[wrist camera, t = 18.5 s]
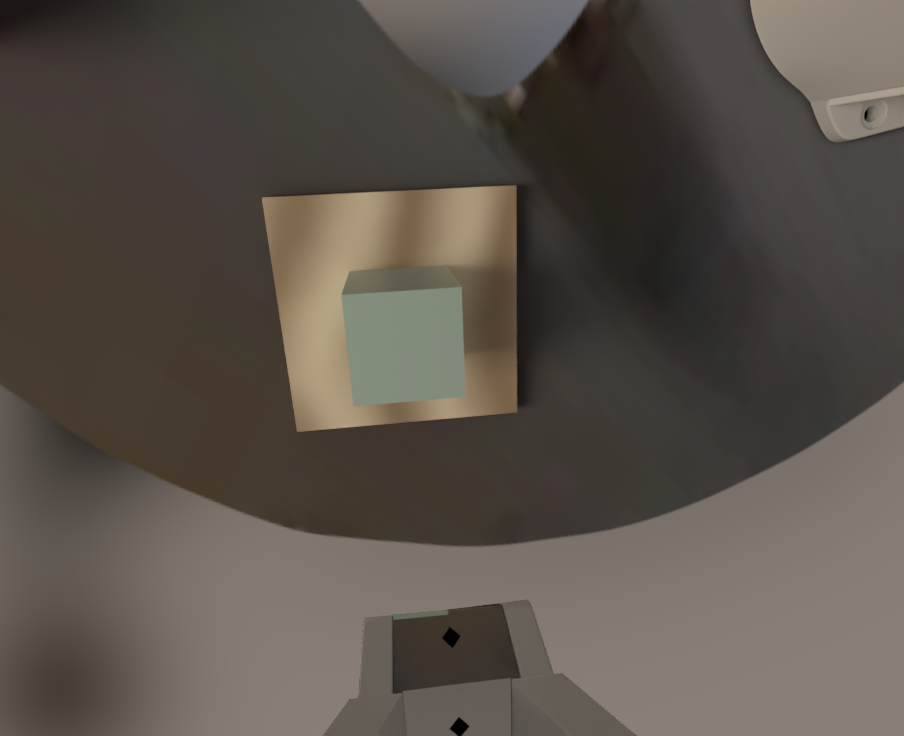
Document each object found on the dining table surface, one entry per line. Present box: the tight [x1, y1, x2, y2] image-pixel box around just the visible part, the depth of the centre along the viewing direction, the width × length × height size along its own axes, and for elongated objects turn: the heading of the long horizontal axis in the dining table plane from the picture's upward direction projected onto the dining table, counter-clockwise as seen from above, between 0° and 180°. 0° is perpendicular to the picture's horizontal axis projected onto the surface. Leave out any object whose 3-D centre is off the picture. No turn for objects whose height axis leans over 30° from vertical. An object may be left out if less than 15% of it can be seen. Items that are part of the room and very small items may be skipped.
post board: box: [262, 185, 517, 432], centre depth 31 cm, size 14×14×7 cm
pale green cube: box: [341, 265, 466, 406], centre depth 30 cm, size 6×6×7 cm
